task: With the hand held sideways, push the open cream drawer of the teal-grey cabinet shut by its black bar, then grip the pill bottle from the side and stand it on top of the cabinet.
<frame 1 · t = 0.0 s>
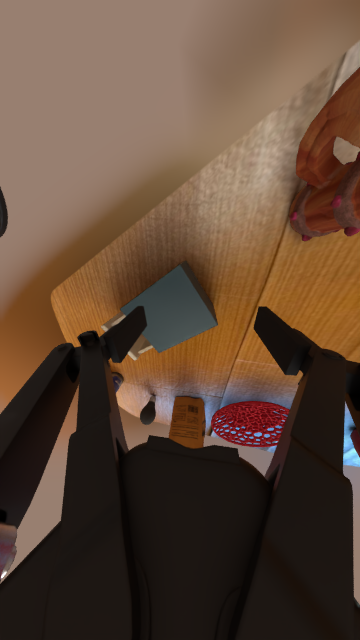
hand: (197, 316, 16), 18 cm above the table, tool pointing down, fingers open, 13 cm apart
pill bottle: (116, 376, 53), on the table
bowl: (248, 412, 52), on the table
cabinet: (175, 300, 34), on the table
mug: (300, 200, 23), on the table
coffee package: (189, 402, 54), on the table
light bulb: (153, 395, 55), on the table
apple: (358, 429, 48), on the table
drawer: (138, 328, 34), point 5 cm above the table, slide at 7.0 cm
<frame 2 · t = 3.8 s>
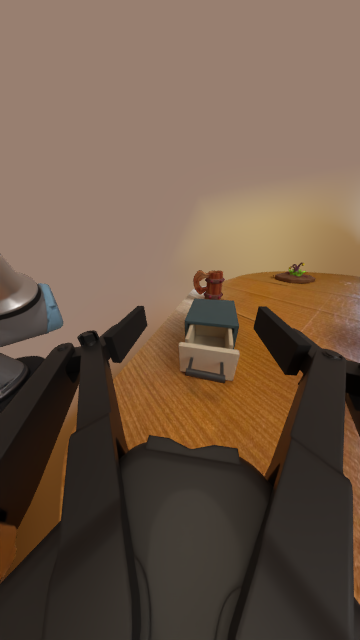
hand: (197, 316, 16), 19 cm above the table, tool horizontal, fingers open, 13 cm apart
cabinet: (209, 336, 43), on the table
mug: (207, 301, 68), on the table
drawer: (208, 348, 31), point 5 cm above the table, slide at 7.0 cm
plant: (293, 279, 93), on the table
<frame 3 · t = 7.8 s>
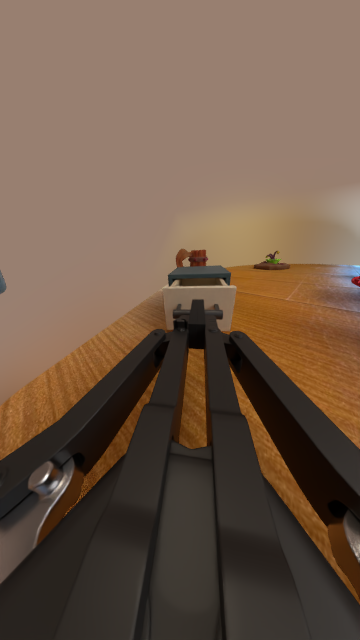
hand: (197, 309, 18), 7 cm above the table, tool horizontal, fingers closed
cabinet: (198, 305, 38), on the table
mug: (192, 283, 64), on the table
drawer: (197, 301, 27), point 5 cm above the table, slide at 6.4 cm, touching gripper
plant: (270, 268, 97), on the table
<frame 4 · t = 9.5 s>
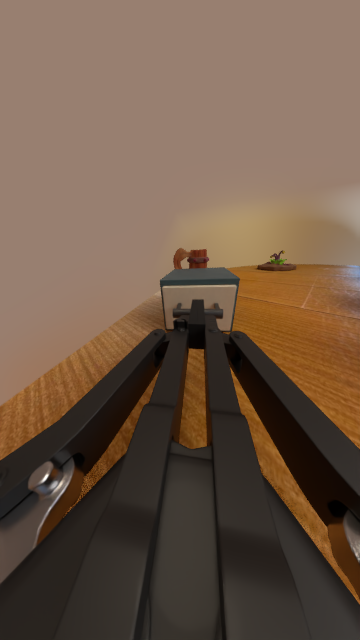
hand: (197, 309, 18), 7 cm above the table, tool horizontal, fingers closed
cabinet: (197, 314, 32), on the table
mug: (191, 286, 58), on the table
drawer: (197, 300, 27), point 5 cm above the table, slide at 0.0 cm, touching cabinet, gripper
plant: (275, 269, 92), on the table
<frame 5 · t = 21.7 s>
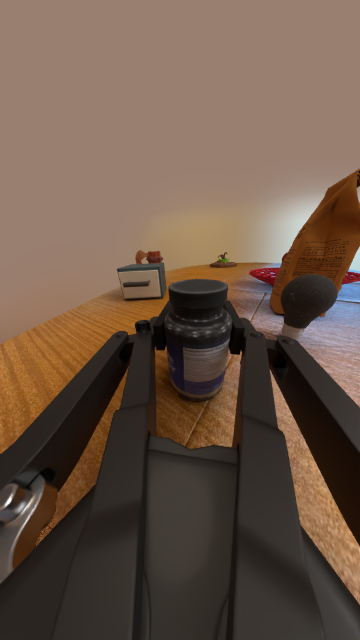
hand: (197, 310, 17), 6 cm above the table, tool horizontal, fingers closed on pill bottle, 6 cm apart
pill bottle: (196, 379, 16), on the table, touching gripper
bowl: (291, 287, 48), on the table
cabinet: (148, 293, 50), on the table
mug: (152, 279, 76), on the table
coffee package: (292, 309, 32), on the table
light bulb: (288, 339, 22), on the table
drawer: (143, 282, 45), point 5 cm above the table, slide at 0.0 cm, touching cabinet
plant: (223, 266, 118), on the table
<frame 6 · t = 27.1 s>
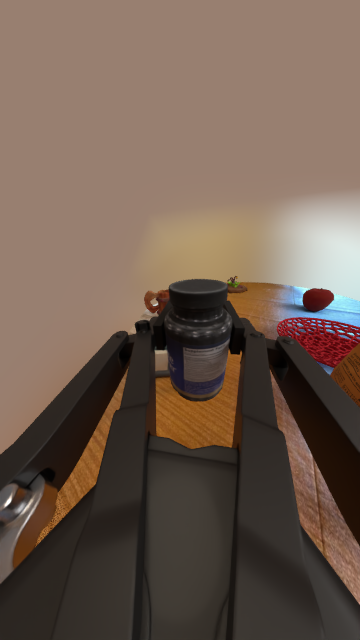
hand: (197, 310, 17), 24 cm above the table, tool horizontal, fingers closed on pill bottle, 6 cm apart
pill bottle: (196, 379, 16), point 17 cm above the table, touching gripper
bowl: (328, 352, 42), on the table
mug: (162, 318, 70), on the table
coffee package: (354, 421, 26), on the table
apple: (311, 310, 69), on the table
drawer: (159, 353, 38), point 5 cm above the table, slide at 0.0 cm, touching cabinet
plant: (232, 289, 112), on the table
when the fingers open (16 cm above the table, at t = 32.6 s): pill bottle stays where it is, resting on cabinet.
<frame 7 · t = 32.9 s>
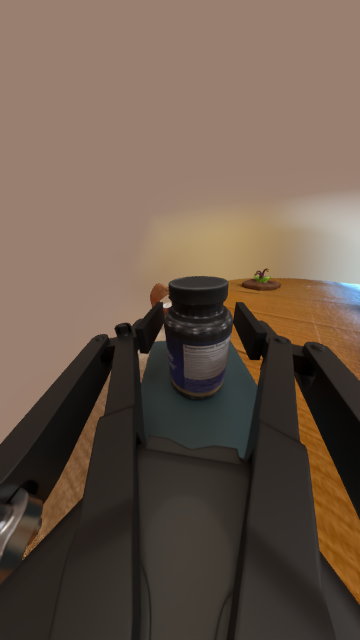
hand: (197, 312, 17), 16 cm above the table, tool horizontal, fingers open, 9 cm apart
pill bottle: (196, 377, 16), point 10 cm above the table, touching cabinet
cabinet: (195, 421, 20), on the table
mug: (176, 326, 46), on the table
plant: (260, 286, 87), on the table
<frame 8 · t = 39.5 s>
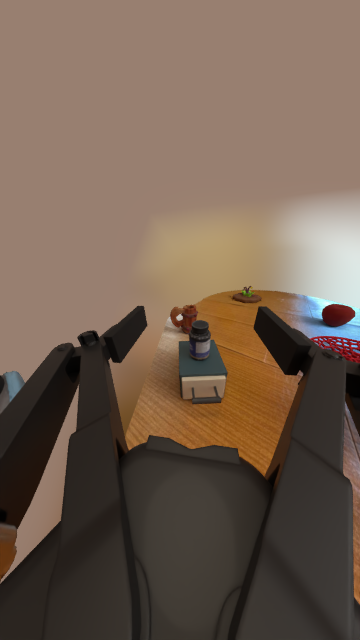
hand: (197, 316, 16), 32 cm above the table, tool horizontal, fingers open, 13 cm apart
pill bottle: (199, 354, 42), point 10 cm above the table, touching cabinet
bowl: (358, 374, 44), on the table
cabinet: (198, 375, 46), on the table
mug: (185, 332, 72), on the table
apple: (331, 325, 71), on the table
drawer: (200, 375, 41), point 5 cm above the table, slide at 0.0 cm, touching cabinet
plant: (246, 299, 114), on the table
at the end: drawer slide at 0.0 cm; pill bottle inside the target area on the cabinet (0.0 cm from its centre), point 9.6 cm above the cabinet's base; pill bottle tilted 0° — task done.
